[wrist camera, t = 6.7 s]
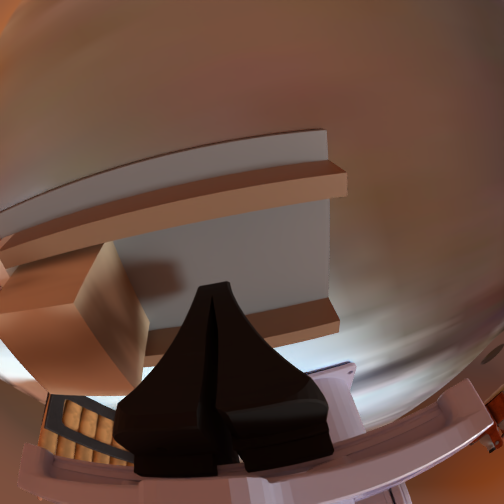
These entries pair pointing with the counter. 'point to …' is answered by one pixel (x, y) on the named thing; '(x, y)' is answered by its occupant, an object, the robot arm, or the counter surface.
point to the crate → (76, 323)
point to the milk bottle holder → (494, 425)
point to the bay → (202, 231)
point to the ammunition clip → (81, 431)
